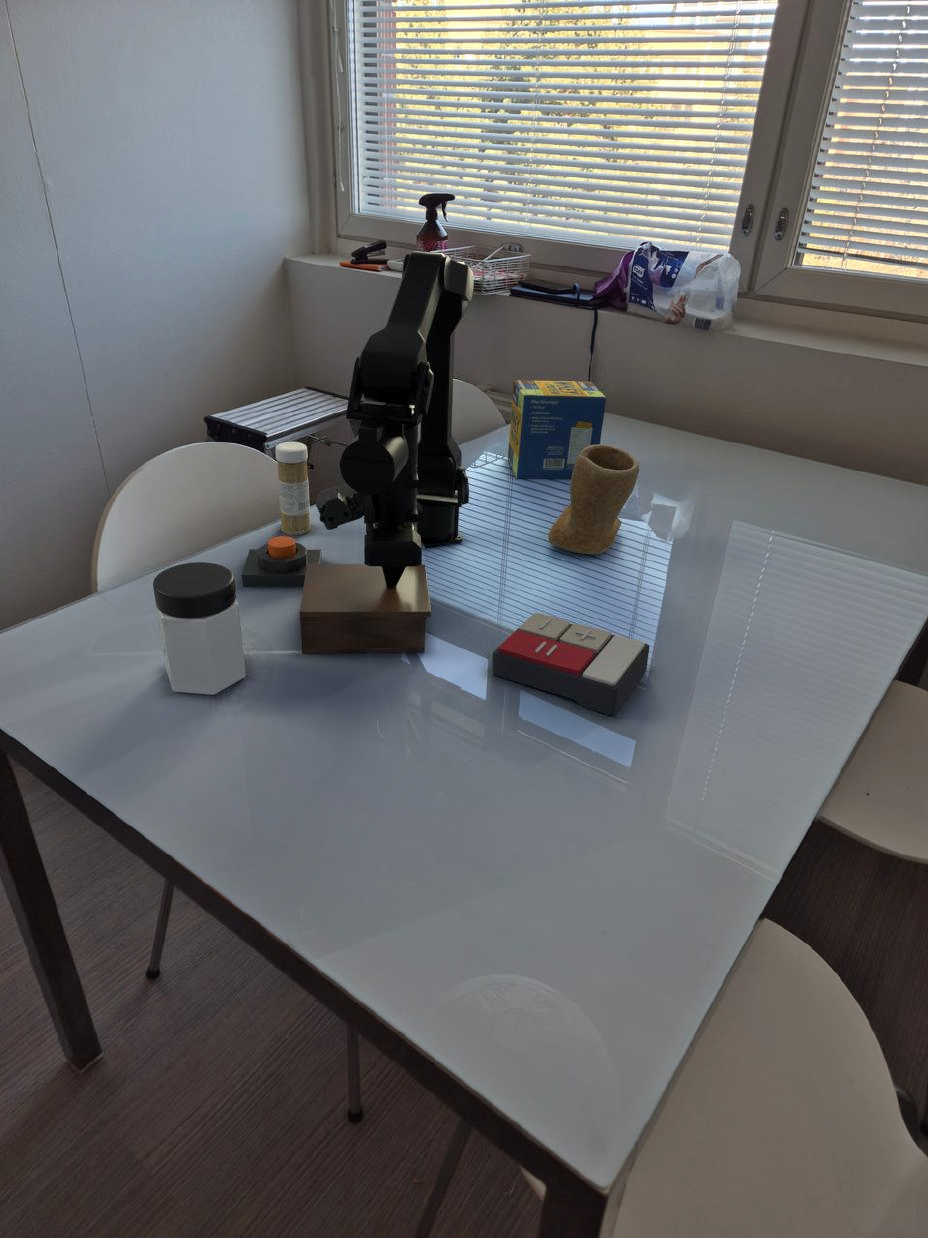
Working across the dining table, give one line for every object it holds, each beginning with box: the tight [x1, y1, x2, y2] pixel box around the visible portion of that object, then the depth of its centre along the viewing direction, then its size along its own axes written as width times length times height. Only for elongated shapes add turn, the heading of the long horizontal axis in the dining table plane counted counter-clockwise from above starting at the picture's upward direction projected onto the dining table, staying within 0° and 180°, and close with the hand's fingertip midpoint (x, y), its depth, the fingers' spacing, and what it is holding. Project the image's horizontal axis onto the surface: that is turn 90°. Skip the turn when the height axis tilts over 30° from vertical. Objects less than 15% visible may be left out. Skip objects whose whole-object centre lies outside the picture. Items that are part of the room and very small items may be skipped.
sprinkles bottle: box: [274, 441, 312, 536], centre depth 122 cm, size 5×5×13 cm
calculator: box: [491, 612, 650, 716], centre depth 94 cm, size 11×4×15 cm
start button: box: [267, 535, 296, 558], centre depth 111 cm, size 4×4×2 cm
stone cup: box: [547, 443, 640, 555], centre depth 124 cm, size 15×12×15 cm
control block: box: [241, 542, 323, 588], centre depth 112 cm, size 10×8×4 cm
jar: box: [152, 561, 247, 696], centre depth 88 cm, size 9×8×12 cm
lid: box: [299, 563, 432, 618], centre depth 99 cm, size 15×12×1 cm
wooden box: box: [299, 616, 427, 655], centre depth 101 cm, size 14×12×5 cm
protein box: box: [507, 379, 607, 480], centre depth 152 cm, size 10×15×16 cm
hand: (391, 586), depth 99 cm, fingers closed, pressing on lid
